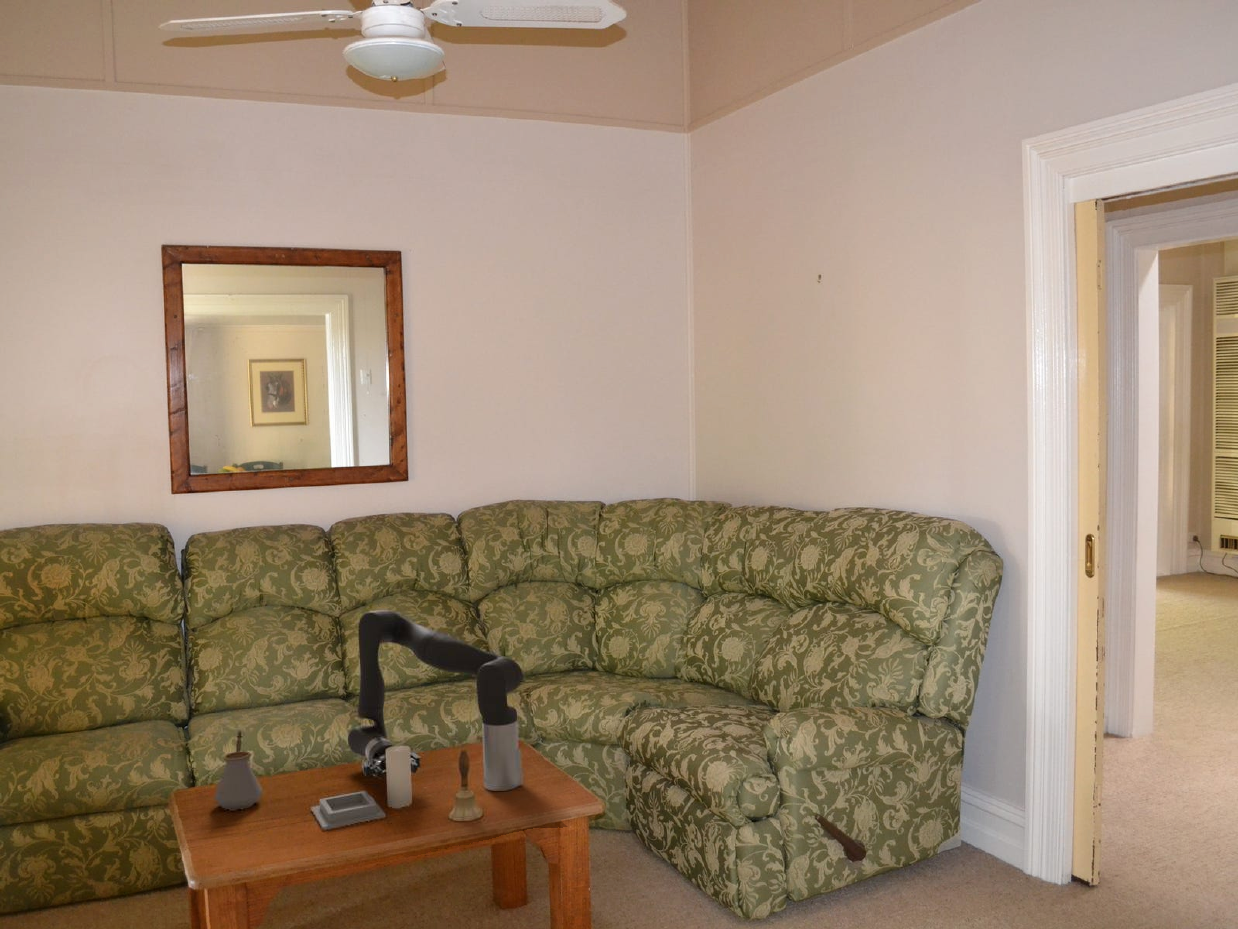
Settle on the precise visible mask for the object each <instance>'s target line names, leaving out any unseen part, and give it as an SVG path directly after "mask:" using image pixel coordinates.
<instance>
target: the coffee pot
mask: <svg viewBox="0 0 1238 929" xmlns="http://www.w3.org/2000/svg"><path fill="white" fill-rule="evenodd" d="M242 733H243V734H244V735H242ZM245 735H246V734H245V732H243V731H241V730H239V731H238V732H235V736H236V739H237V740H236V751H234V752H230V753H226V754H225V755H224V756H223V760H224V761H225V763H226V765H225V768H224V770H223V773H222V775H221V778H220V781H219V783H218V786H217V789H216V790H215V791H216V792H215V794H214V800H215V803H216V804H217V805H219V806H220V807H222V808H223V809H224V808H226V809H229V810H228V811H238V810H237V809H241V810H243V809H242V808H245V809H248V808H251V807H252V806H251V805H253V804H254V803H255V804H256V802H257V801H258V800H259V799H260V798H261V796H262V793H263V789H262V787H261V785H260V782H259V781H258V779H257V777H256V775H255V774H254V771H253V770H252V768H251V766H250V764H249V760H250V757H251V756H252V753H251V752H248V751H242V738H243V737H244V736H245ZM255 804H254V805H255ZM254 805H253V806H254ZM250 806H251V807H250ZM226 809H225V810H226Z"/></svg>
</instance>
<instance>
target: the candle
mask: <svg viewBox="0 0 1238 929" xmlns="http://www.w3.org/2000/svg"><path fill="white" fill-rule="evenodd" d="M410 752H411V748H410V746H407V745H394V746H393V747H389V748H387V749H386V773H385V774H386V797H387V807H388V806H389V808H390V807H392V808H391V809H402V808H401V807H405V806H408V805H409V804H411V803H412V804H413V795H412V771H411V763H410ZM412 804H411V805H412ZM408 807H409V806H408ZM405 808H406V807H405Z"/></svg>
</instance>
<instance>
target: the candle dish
mask: <svg viewBox="0 0 1238 929" xmlns="http://www.w3.org/2000/svg"><path fill="white" fill-rule="evenodd" d="M318 801H319V805H315V806H314V805H313V806H311V807H310V810H311V812H313V813H312V815H313V816H314V815H315V816H314V818H315V819H316V821H317V822H319V823H318V824H319V825H320V827H321V829H322V831H327V829H328V830H333V829H337V828H342V826H343V827H346V826H345V825H348V826H352V825H351V824H353V823H357V822H361V821H368V822H371V821H370V820H373V819H377V818H383V819H386V818H387V816H386V813H385V812H384V810H382V808H381V806H380V805H379V804H378V802H376V800H375V799H374V798H373V797H372V796H371V795H369V794H368V792H367V791H366V790H362V791H357V792H351V793H345V794H341V795H336V796H331V797H325V798H319V799H318ZM385 817H386V818H385ZM373 821H374V820H373ZM353 825H354V824H353ZM332 828H333V829H332Z"/></svg>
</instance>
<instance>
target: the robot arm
mask: <svg viewBox="0 0 1238 929" xmlns="http://www.w3.org/2000/svg"><path fill="white" fill-rule="evenodd" d="M357 629H358V630H357V633H358V635H357V636H358V653H359V671H360V674H359V675H360V678H359V679H360V680H359V682H360V684H359V694H358V703H357V704H358V705H357V715H358V716H359V717H360V718H362V719H366V720H371V721H372V722H373V725H357V726H355V727H353V728H352V729H351V730H350V731H349V733H348V735H347V744H348V747H349V750H351V751H352V752H353V753H355V754H356V755H359V756H360V757H361V756H362V757H365V758H366V759H363V760H361V771H362V772H363V774H364V777H371V775H372V776H374V777H375V778H377V779H379V780H383V778H384V774H387V773H386V749H387V748H389V747H393V746H395V745H394V744H393V743H392V742H391V741H390V740H389V739H388V736H387V735H388V733H387V730H386V726H385V718H384V708H385V707H384V706H385V697H386V696H385V695H386V684H385V679H384V676H383V673H382V671H381V668H380V664H379V663H380V662H379V651H380V646H381V644H385V643H386V644H387V643H391V644H396V645H398V646H402V647H405V648H407V649H409V650H411V651H412V653H413V654H414V655H415V657H416V658H417V659H418V660H420V661H421V663H424V664H425V665H428V666H429V667H433V668H435V669H437V670H440V671H444V672H447V673H448V672H449V673H455V674H464V675H471V676H476V682H475V683H476V694H477V706H478V711H479V713H480V716H481V728H482V729H481V730H482V734H481V735H482V757H483V763H482V764H483V787H484V788H485V789H486V790H488V791H494V792H503V791H504V792H505V791H510V790H514V789H516V788H517V787H520V786H522V785H523V768H522V767H523V766H522V750H521V748H519V734H518V733H519V730H518V711H517V709H516V708H515V707H514V706H511V705H509V704H508V697H507V694H509V693H511V692H513V691H515V690H516V689H518V687H520V686H521V684H522V683H523V680H524V674H523V670H522V668H521V666H520V665H519V664H518V663H517V661H515V660H514V659H512V658H510V657H507V656H505V655H501V654H500V655H499V654H496V653H493V652H489V651H485V650H483V649H481V648H478V647H475V646H473V645H471V644H468V643H466V642H463V641H461V640H459V639H456V638H455V637H452V636H450V635H447V634H445V633H442V632H441V631H437V630H434V629H431V628H429V627H426V626H423V625H420V624H418V623H416V622H414V621H413V620H410V619H409V618H407V617H404V616H403V615H401V614H399V612H397V611H396V612H395V611H394V610H390V609H378V610H370V611H366V612H364V614H363V615H361V617H360V618H359V622H358V628H357ZM410 763H411V774H415V773H417V772H418V770H419V769H418V768H421V757H420V755H418V754H416V753H415V752H414V751H410Z"/></svg>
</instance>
